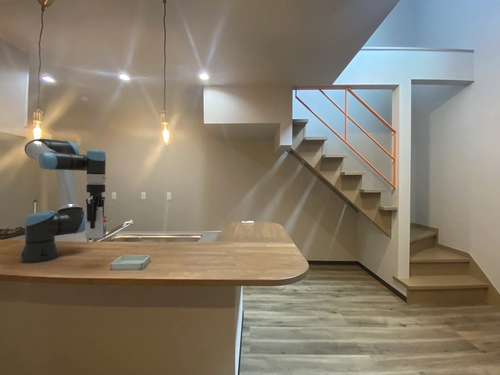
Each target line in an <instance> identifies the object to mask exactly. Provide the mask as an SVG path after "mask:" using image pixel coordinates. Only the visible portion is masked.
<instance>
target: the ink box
mask: <svg viewBox="0 0 500 375" xmlns="http://www.w3.org/2000/svg"><path fill="white" fill-rule="evenodd" d="M97 209H98V210H97V214H96V221H97V235H96V236H93V235H90V221H87V206H85V211H86V217H85V231H84V238H85V239H105V238H106V237H107V216H105V215H104V216H103V207H97Z"/></svg>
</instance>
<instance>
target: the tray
mask: <svg viewBox="0 0 500 375" xmlns="http://www.w3.org/2000/svg"><path fill="white" fill-rule="evenodd" d="M150 262H151V254H150V255H149V254H147V255H139V254H138V255H133V254H132V255H120V256H118V258H116V259H115V260H113V261H112V262H111V263H110V264H109V270H110V271H130V270H131V271H134V270H135V271H136V270H138V271H140V270H141V271H143V269H144V268H146V266H147V265H149V263H150Z"/></svg>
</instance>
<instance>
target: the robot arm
mask: <svg viewBox="0 0 500 375" xmlns="http://www.w3.org/2000/svg"><path fill="white" fill-rule="evenodd" d="M24 154H25V155H26V156H28V157H29V158H30V159H32V160H35V161H36V160H37V161H38V164H39V167H40V168H41V169H42V170H49V171H52V170H55V173H56V174H55V175H56V184H57V190H58V191H57V192H58V200H59V201H58V202H59V208H58V209H57V210H56V212H55V211H54V210H45V211H38V212H33V213H29V214H28V215H26V216H25V222H24V230H25V231H24V232H25V233H24V237H25V242H24V244H25V245H24V248H23V250H22V253H21V255H20V262H21V263H29V264H32V263H41V262H47V261H51V260H55V259H57V258H59V257H60V251H59V249H58V247H57V244H56V242H55V241H56V240H55V239H56V238H55V237H57V236H64V235H72V234H80V233H83V232H85V217H86V210H83V209H84V208H83V207H82V206H81V205H80V203H79V197H78V196H79V195H78V186H77V182H76V174H75V171H82V172H86V181H85V182H86V186H85V187H86V190H85V191H86V193H89V196H88V198H86V199H85V204H86V207H87V221H90V235H93V236H96V235H97V221H96V214H97V210H98V209H97V207H103V216H105V200H106V197H105V196H103V194H102V193H105V192H106V185H105V183H106V179H107V176H106V160H107V157H106V151H104V150H101V149H88V150H87V151H86V154H80V150H79V147H78V145H77V144H76V143H75V142H74V141H73V142H72V141H69V140H58V139H57V140H56V139H48V138H36V139H33V140H30V141H28V142H27V143H26V144H25V146H24Z"/></svg>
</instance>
